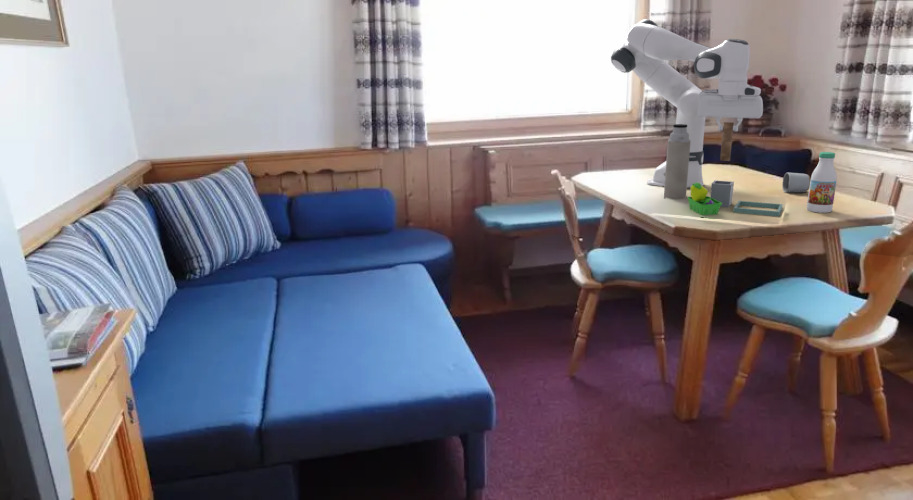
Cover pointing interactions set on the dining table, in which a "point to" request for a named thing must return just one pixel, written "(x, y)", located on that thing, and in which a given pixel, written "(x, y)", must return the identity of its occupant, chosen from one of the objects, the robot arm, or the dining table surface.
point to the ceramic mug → (796, 182)
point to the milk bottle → (822, 185)
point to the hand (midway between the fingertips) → (727, 130)
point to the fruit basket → (702, 201)
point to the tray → (756, 211)
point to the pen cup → (722, 192)
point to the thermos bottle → (677, 163)
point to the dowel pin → (726, 141)
